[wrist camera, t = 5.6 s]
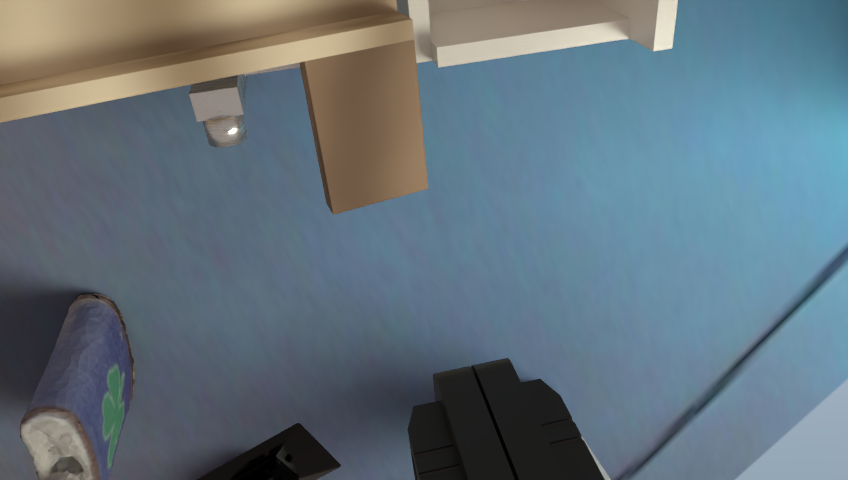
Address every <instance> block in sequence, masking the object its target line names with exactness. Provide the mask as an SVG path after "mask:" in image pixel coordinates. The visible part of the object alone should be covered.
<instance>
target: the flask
mask: <svg viewBox="0 0 848 480" xmlns="http://www.w3.org/2000/svg"><path fill="white" fill-rule="evenodd" d="M92 295H96V296H98V297H99V298H100V299H99V298H96V297H95V296H92ZM121 314H122V313H120V311H119V310H118V308H117V306H116V304H115V303H114V301H111V299H110V297H106V296H104V295H102V294H97V293H96V294H87V295H79V296H78V297H77V299H76V300H75V301H74V302H73V303H72V304H71V305H70V307H69V310H68V315H67V317H66V318H65V321H64V323H63V326H62V329H61V331H60V334H59V337H58V339H57V342H56V345H55V347H54V350H53V352H52V354H51V356H50V359H49V361H48V364H47V366H46V369H45V371H44V373H43V375H42V377H41V379H40V381H39V384H38V386H37V388H36V390H35V392H34V395H33V398H32V400H31V403H30V405H29V407H28V409H27V411H26V413H25V415H24V417H23V419H22V421H21V424H20V437H21V439H22V440H23V442H24V443H25V445H26V447H27V450H28V453H29V454H30V456H31V457H32V459H33V462H34V464H35V469H36V473H37V475H38V478H39V480H108V479H109V475H110V472H111V469H112V465H113V461H114V456H115V452H116V449H117V446H118V441H119V437H120V433H121V430H122V427H123V424H124V421H125V418H126V414H127V412H128V410H129V406H130V401H131V400H132V397H133V386H134V384H135V380H134V376H135V373H134V372H135V368H134V365H133V364H134V359H133V358H132V355H131V350H130V349H131V348H130V344H129V341H128V340H129V339H128V335H127V334H126V327H125V324H124V322H123V317H122V315H121Z"/></svg>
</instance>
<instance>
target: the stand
mask: <svg viewBox="0 0 848 480" xmlns="http://www.w3.org/2000/svg"><path fill="white" fill-rule="evenodd" d="M298 67H300V63H294V64H289V65H284V66H279V67H274V68H269V69H264V70H259V71H254V72H249V73H244V74H240V75H235V76H230V77H225V78H220V79H215V80H210V81H205V82H200V83H195V84H192V86H191V90H190V93H189V95H190V99H191V102H192V105H193V109H194V112H195V116H196V119H197V122H199V121H203V125H204V128H205V131H206V135H207V138H208V142H209V144H210V145H211V146H213V147H228V146H233V145H236V144H239V143H241V142H243V141H244V140H246V139H247V137H248V134H247V130H246V126H245V122H244V118H243V115H244V105H245V91H246V78H247V75H251V74H258V73H264V72H271V71H278V70H285V69H291V68H298Z"/></svg>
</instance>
